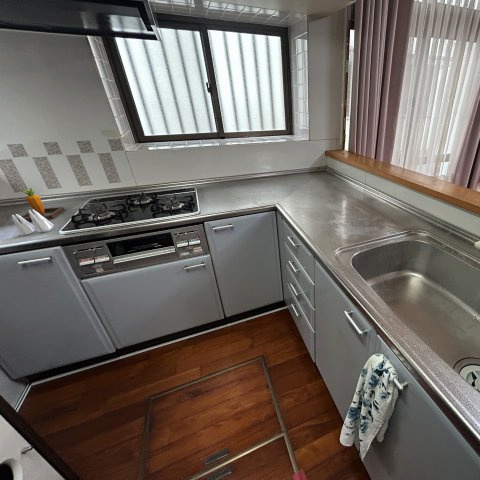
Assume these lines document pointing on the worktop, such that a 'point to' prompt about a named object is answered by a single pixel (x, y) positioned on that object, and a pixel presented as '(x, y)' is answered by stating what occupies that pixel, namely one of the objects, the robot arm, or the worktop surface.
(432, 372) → the worktop surface
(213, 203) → the worktop surface
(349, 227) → the worktop surface
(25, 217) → the frame
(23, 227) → the shaker set
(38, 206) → the carrot
